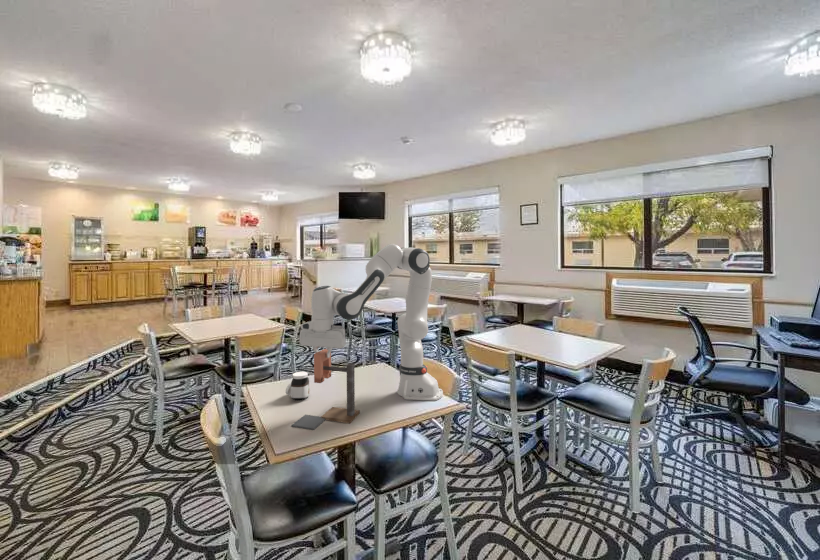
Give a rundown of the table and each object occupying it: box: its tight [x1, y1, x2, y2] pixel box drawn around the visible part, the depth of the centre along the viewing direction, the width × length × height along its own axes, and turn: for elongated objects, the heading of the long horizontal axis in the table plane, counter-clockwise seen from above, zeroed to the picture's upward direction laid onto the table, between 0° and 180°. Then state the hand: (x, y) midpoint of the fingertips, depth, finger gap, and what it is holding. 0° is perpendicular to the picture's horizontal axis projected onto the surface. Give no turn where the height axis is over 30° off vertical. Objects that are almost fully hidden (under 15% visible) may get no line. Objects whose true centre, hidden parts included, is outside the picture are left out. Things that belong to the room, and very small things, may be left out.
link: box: [313, 348, 332, 384], centre depth 152 cm, size 3×9×12 cm, turn 164°
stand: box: [320, 363, 361, 424], centre depth 151 cm, size 17×10×22 cm, turn 74°
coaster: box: [291, 414, 326, 431], centre depth 145 cm, size 10×10×1 cm
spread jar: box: [285, 371, 310, 402], centre depth 171 cm, size 12×11×12 cm
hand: (322, 357), depth 152 cm, fingers closed on link, 3 cm apart
